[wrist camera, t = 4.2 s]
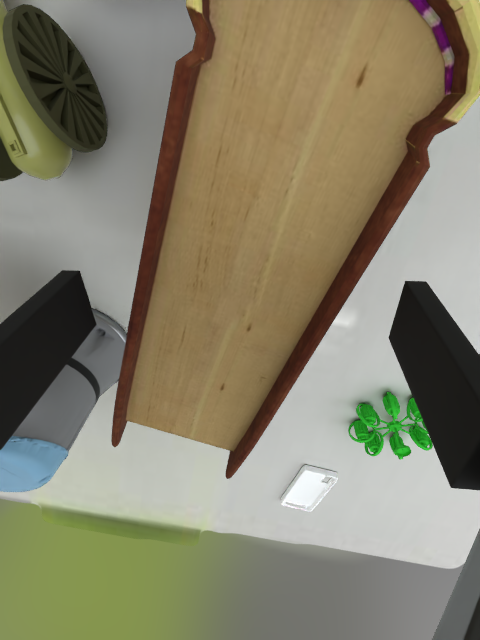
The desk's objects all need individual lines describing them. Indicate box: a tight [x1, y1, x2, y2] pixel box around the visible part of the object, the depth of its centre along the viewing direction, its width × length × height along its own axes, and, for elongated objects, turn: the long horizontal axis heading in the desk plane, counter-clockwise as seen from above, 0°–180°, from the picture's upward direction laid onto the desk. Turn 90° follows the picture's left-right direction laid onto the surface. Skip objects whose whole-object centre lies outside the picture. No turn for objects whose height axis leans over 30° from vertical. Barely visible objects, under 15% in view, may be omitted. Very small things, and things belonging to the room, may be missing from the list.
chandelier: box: [349, 392, 433, 459], centre depth 56 cm, size 15×15×7 cm
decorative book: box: [112, 0, 480, 479], centre depth 26 cm, size 22×8×30 cm, turn 161°
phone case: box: [281, 465, 338, 512], centre depth 73 cm, size 7×1×15 cm
